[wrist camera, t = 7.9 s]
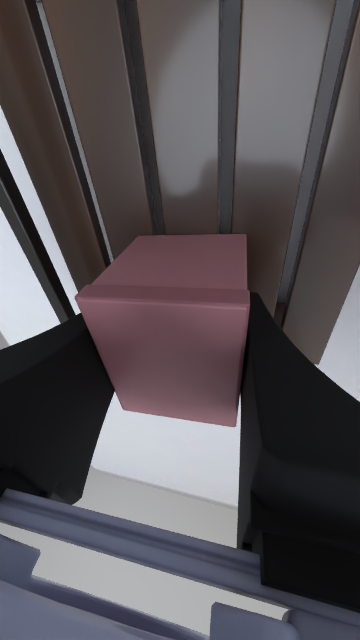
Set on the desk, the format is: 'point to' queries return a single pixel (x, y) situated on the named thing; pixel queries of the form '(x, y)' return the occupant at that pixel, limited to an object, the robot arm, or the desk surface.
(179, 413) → the rose box
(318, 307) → the rack
